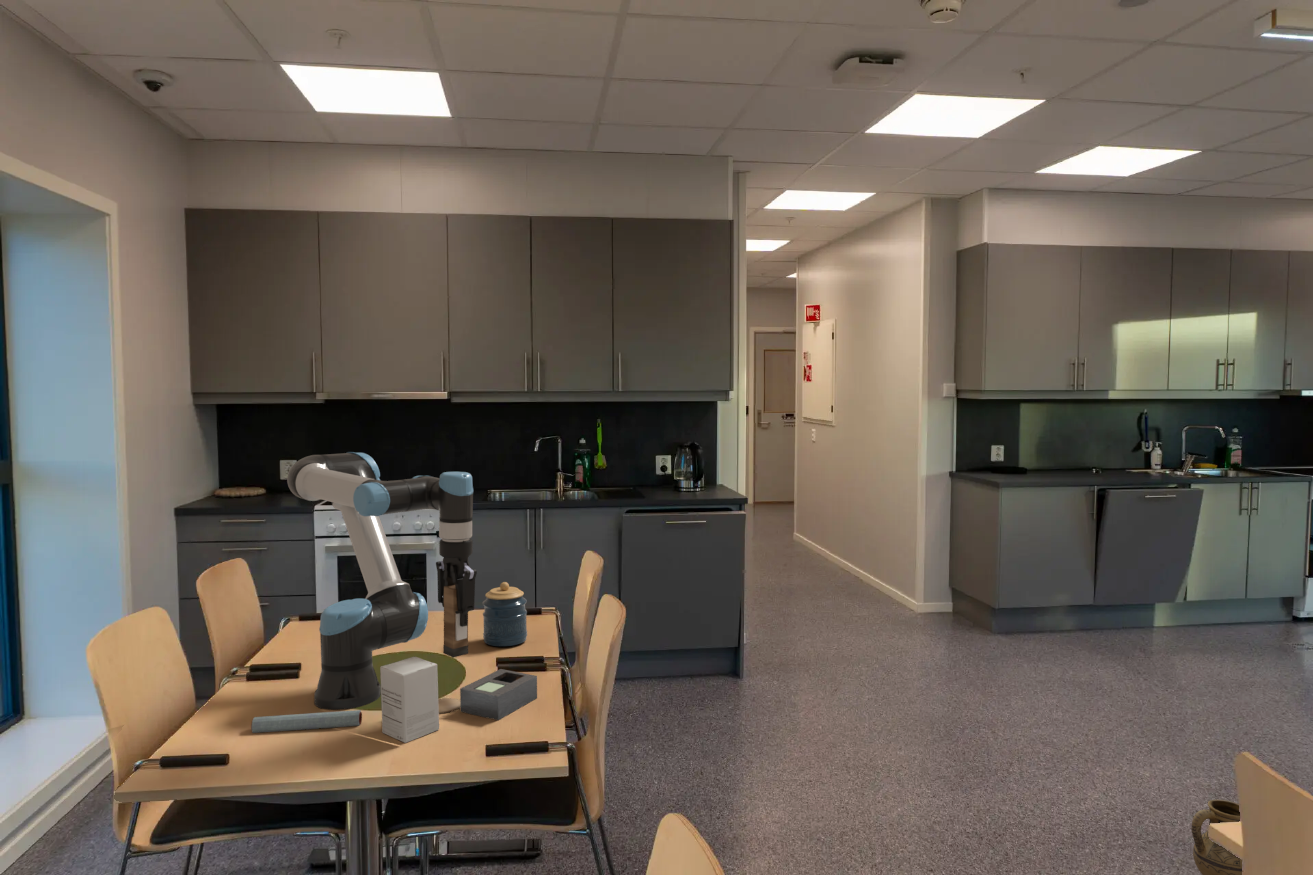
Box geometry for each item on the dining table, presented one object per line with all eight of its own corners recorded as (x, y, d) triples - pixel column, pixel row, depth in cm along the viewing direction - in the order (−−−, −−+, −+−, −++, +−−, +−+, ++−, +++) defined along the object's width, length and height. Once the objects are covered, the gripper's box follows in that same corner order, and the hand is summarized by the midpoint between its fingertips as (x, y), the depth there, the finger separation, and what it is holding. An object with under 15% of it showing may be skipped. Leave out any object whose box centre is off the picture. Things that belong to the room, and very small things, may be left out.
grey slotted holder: (537, 697, 198) (536, 675, 198) (498, 720, 185) (498, 696, 185) (500, 690, 203) (500, 668, 203) (460, 711, 190) (460, 688, 190)
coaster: (445, 715, 188) (445, 713, 188) (418, 709, 191) (418, 707, 191) (468, 703, 195) (468, 701, 195) (442, 698, 198) (442, 695, 198)
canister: (522, 632, 253) (521, 575, 252) (531, 644, 241) (530, 585, 240) (479, 636, 248) (479, 579, 247) (487, 649, 236) (486, 589, 235)
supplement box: (416, 719, 186) (415, 655, 185) (440, 730, 180) (438, 663, 179) (380, 732, 179) (379, 665, 178) (404, 743, 173) (402, 674, 172)
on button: (504, 695, 192) (504, 685, 192) (491, 702, 188) (491, 692, 188) (488, 692, 194) (488, 682, 194) (475, 699, 190) (475, 688, 190)
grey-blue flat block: (250, 736, 178) (250, 720, 178) (260, 723, 185) (260, 708, 185) (359, 728, 182) (359, 713, 182) (365, 716, 188) (364, 702, 188)
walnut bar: (453, 657, 189) (453, 589, 188) (443, 653, 192) (443, 586, 191) (468, 653, 192) (468, 586, 191) (458, 649, 195) (458, 583, 194)
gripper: (491, 542, 187) (490, 641, 189) (449, 531, 199) (449, 624, 201) (463, 546, 182) (462, 649, 184) (422, 535, 193) (421, 631, 195)
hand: (455, 636), depth 192 cm, fingers closed on walnut bar, 4 cm apart
